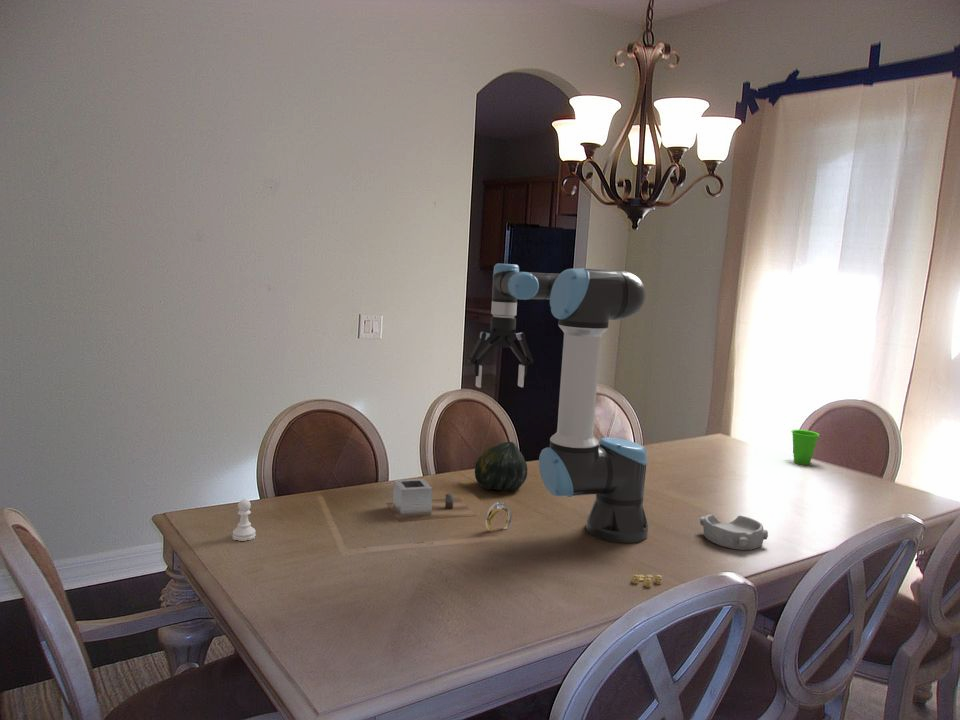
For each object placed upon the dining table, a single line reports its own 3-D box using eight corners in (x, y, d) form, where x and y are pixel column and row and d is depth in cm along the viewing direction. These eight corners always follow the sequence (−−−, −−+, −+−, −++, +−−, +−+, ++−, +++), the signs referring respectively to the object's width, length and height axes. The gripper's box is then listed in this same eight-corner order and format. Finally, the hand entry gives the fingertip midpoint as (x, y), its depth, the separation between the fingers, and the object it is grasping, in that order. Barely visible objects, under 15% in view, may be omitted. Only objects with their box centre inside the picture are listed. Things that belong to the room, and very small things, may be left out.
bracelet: (489, 538, 173) (490, 506, 171) (482, 534, 175) (483, 502, 174) (513, 534, 176) (515, 502, 175) (506, 529, 179) (508, 498, 178)
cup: (817, 462, 258) (821, 432, 257) (813, 468, 251) (817, 437, 249) (790, 457, 263) (793, 428, 261) (786, 463, 255) (789, 432, 254)
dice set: (662, 585, 154) (663, 576, 154) (650, 592, 150) (651, 583, 150) (641, 577, 157) (642, 568, 157) (629, 584, 154) (630, 575, 153)
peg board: (476, 520, 184) (477, 496, 183) (399, 526, 177) (400, 502, 176) (458, 501, 197) (459, 479, 196) (386, 507, 190) (387, 484, 189)
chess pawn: (260, 537, 167) (260, 499, 165) (243, 543, 162) (243, 505, 161) (245, 531, 169) (245, 494, 168) (227, 538, 165) (227, 500, 163)
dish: (691, 533, 184) (693, 514, 183) (736, 528, 189) (738, 510, 188) (730, 556, 171) (732, 535, 170) (776, 550, 175) (778, 530, 175)
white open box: (431, 514, 183) (432, 488, 182) (400, 517, 180) (401, 490, 179) (422, 504, 190) (423, 478, 189) (392, 506, 188) (393, 480, 187)
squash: (463, 462, 216) (482, 433, 206) (507, 460, 223) (527, 432, 212) (477, 504, 208) (497, 477, 197) (521, 501, 214) (543, 474, 204)
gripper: (537, 316, 223) (532, 384, 226) (459, 314, 215) (456, 384, 218) (547, 318, 216) (542, 388, 219) (467, 316, 208) (463, 389, 211)
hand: (499, 386), depth 218 cm, fingers open, 13 cm apart
